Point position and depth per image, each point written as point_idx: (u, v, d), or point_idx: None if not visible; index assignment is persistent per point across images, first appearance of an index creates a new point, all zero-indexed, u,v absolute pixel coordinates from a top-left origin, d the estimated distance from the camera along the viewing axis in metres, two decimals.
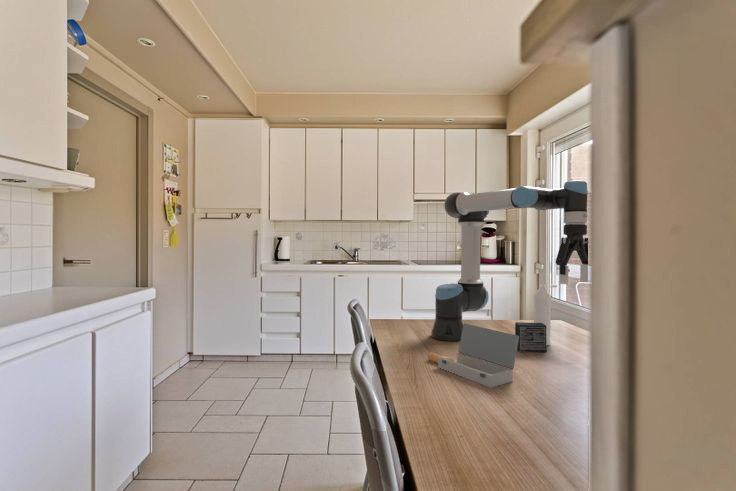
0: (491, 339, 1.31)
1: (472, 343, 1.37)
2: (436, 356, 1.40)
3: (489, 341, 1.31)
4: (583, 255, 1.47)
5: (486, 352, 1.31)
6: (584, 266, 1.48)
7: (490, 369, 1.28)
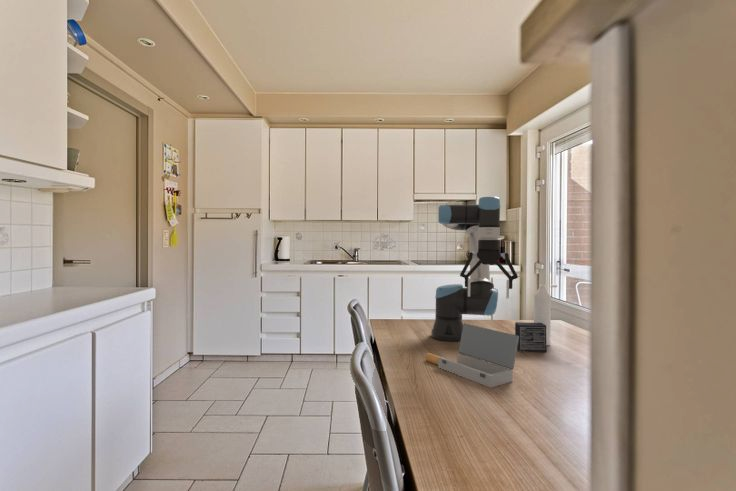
0: (491, 339, 1.31)
1: (472, 343, 1.37)
2: (432, 360, 1.39)
3: (489, 341, 1.31)
4: None
5: (486, 352, 1.31)
6: None
7: (490, 369, 1.28)
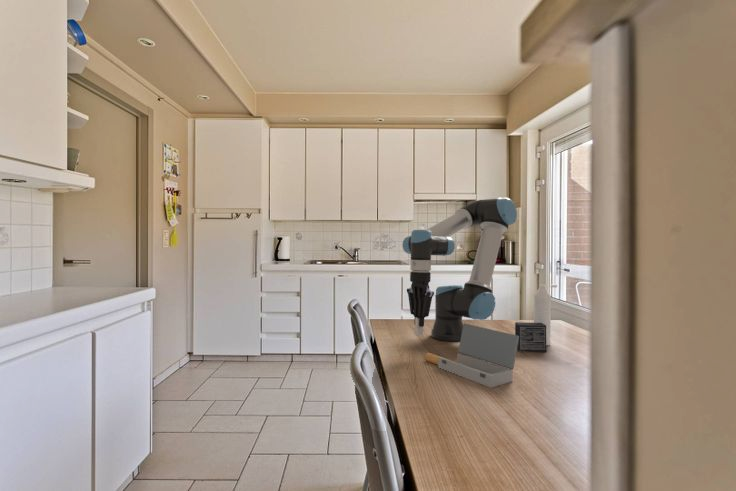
0: (491, 339, 1.31)
1: (472, 343, 1.37)
2: (432, 360, 1.39)
3: (489, 341, 1.31)
4: None
5: (486, 352, 1.31)
6: None
7: (490, 369, 1.28)
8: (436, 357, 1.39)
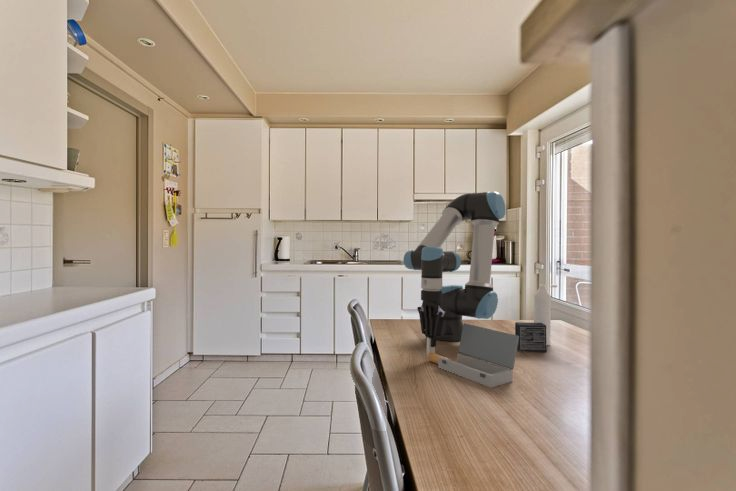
0: (491, 339, 1.31)
1: (472, 343, 1.37)
2: (435, 359, 1.39)
3: (489, 341, 1.31)
4: None
5: (486, 352, 1.31)
6: None
7: (490, 369, 1.28)
8: (439, 356, 1.38)
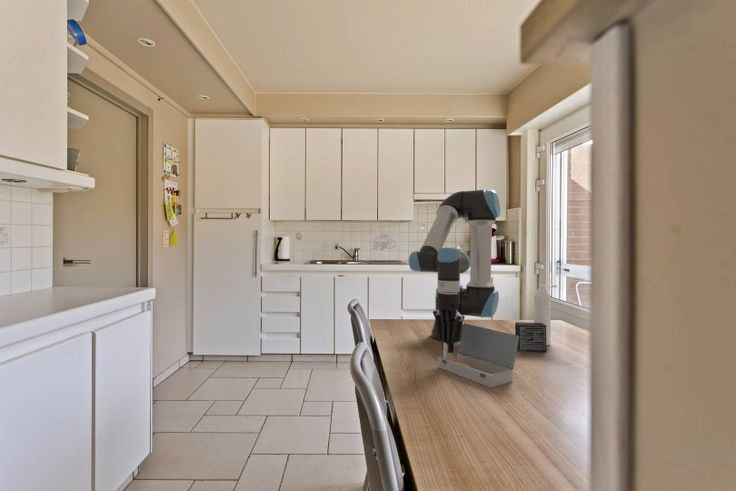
0: (491, 339, 1.31)
1: (472, 343, 1.37)
2: None
3: (489, 341, 1.31)
4: None
5: (486, 352, 1.31)
6: None
7: (490, 369, 1.28)
8: (457, 362, 1.32)
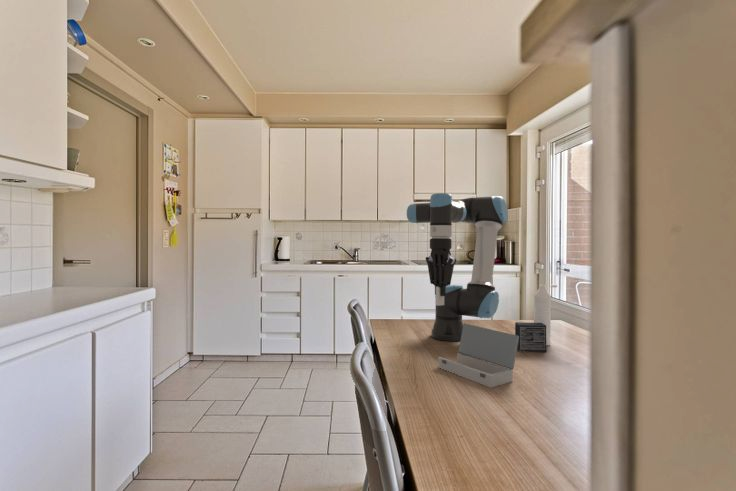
0: (491, 339, 1.31)
1: (472, 343, 1.37)
2: None
3: (489, 341, 1.31)
4: None
5: (486, 352, 1.31)
6: None
7: (490, 369, 1.28)
8: None
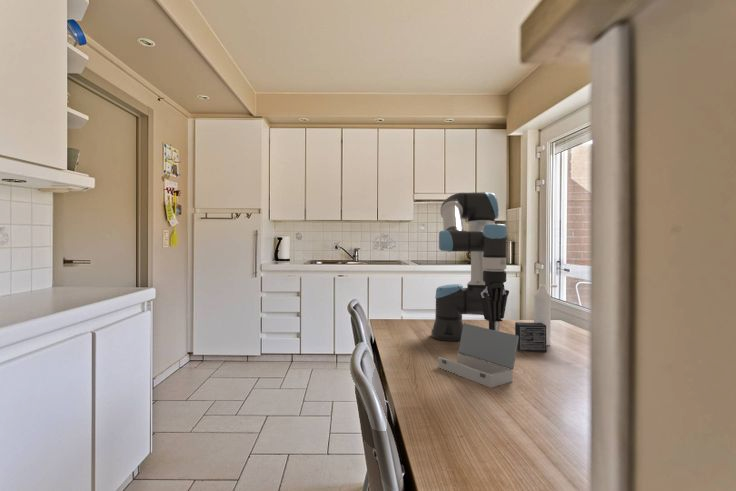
0: (491, 339, 1.31)
1: (472, 343, 1.37)
2: None
3: (489, 341, 1.31)
4: (497, 307, 1.34)
5: (486, 352, 1.31)
6: None
7: (490, 369, 1.28)
8: None
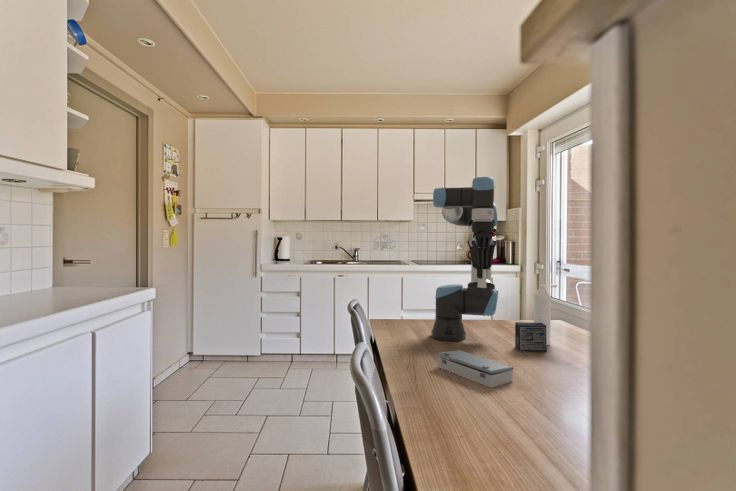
0: None
1: None
2: (457, 362, 1.33)
3: None
4: (485, 255, 1.42)
5: None
6: None
7: None
8: None
